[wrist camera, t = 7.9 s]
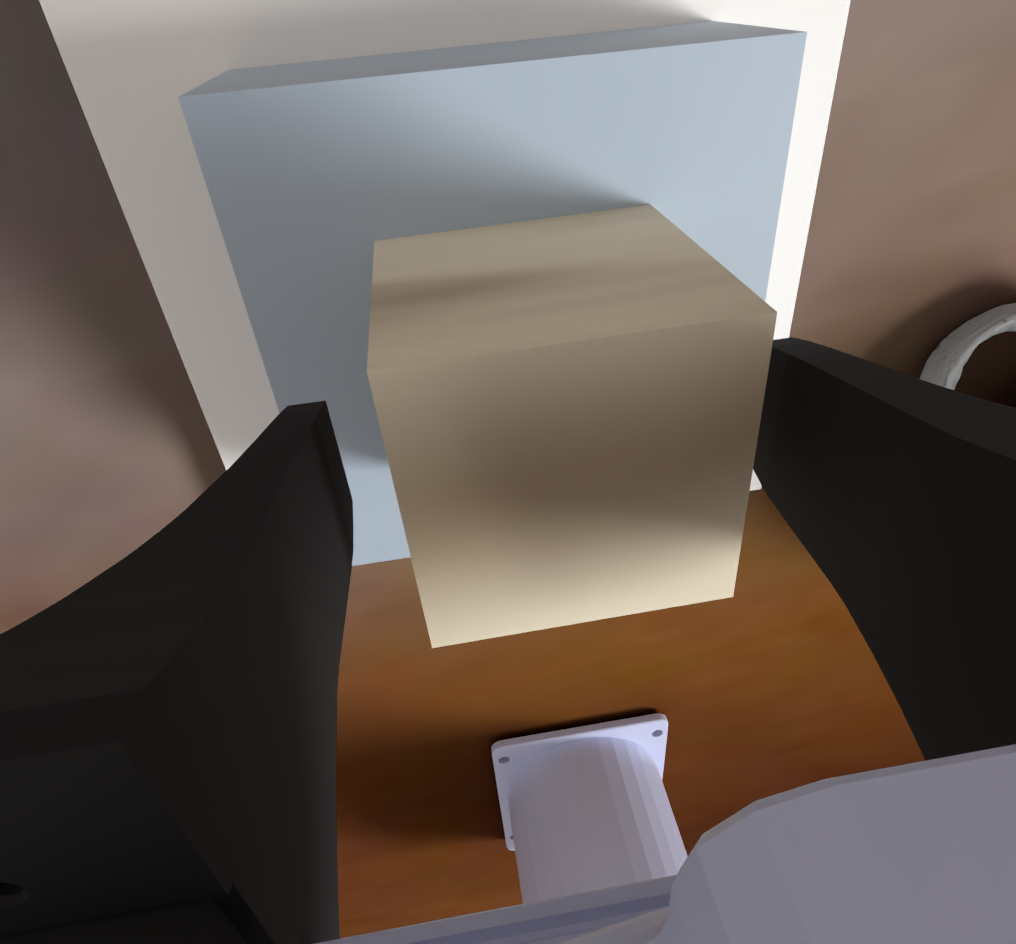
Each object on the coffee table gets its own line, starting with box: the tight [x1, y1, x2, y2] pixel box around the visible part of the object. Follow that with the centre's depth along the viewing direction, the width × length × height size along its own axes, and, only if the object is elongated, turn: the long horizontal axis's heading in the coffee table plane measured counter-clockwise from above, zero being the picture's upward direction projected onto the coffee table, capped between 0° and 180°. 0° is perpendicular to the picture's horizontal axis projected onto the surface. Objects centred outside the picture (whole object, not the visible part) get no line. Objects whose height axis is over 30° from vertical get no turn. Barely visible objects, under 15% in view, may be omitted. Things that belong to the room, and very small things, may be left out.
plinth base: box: [39, 0, 851, 566], centre depth 16 cm, size 16×16×5 cm
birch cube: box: [367, 204, 777, 648], centre depth 12 cm, size 5×5×5 cm
